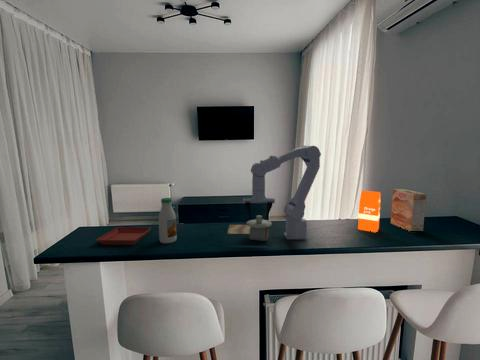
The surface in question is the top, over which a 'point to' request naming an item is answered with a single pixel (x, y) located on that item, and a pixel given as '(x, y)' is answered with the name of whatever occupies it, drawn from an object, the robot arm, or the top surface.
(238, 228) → the trivet
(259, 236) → the ceramic mug
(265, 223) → the lid
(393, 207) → the coffeecake box
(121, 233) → the plant saucer
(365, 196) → the orange juice
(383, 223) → the top surface
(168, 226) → the milk bottle
